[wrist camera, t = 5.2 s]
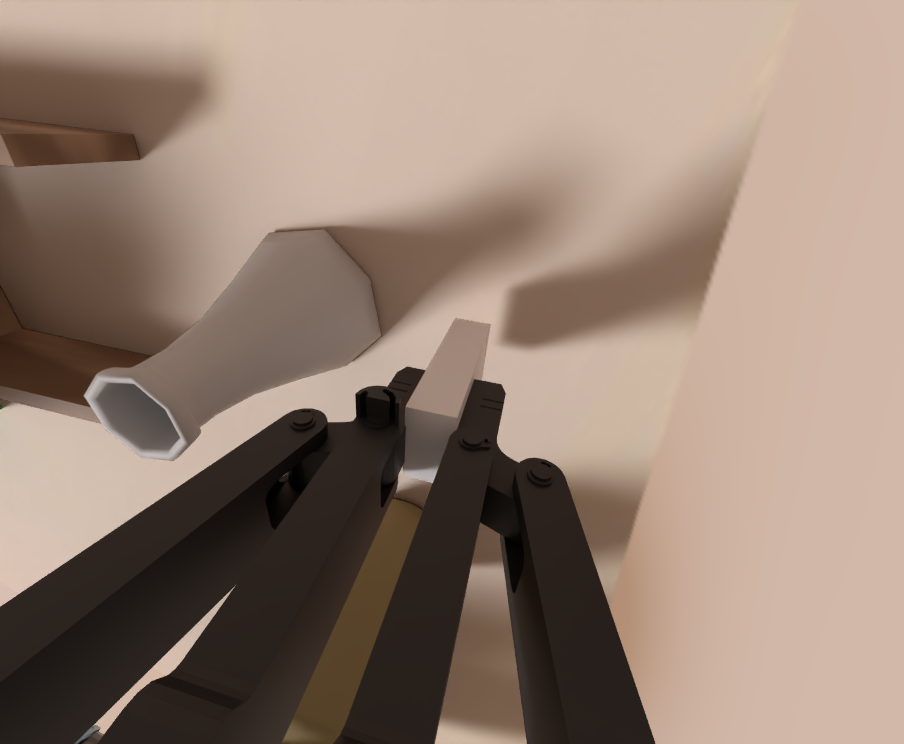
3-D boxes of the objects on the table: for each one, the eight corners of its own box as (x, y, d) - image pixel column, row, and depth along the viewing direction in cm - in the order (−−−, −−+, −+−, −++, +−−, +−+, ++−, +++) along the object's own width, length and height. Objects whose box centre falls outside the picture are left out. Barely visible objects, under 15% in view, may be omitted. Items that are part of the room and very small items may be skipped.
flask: (332, 199, 17) (117, 258, 9) (406, 344, 20) (296, 494, 12) (220, 259, 20) (-26, 347, 12) (298, 379, 23) (146, 520, 14)
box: (202, 380, 24) (129, 430, 20) (16, 339, 26) (-86, 377, 22) (132, 134, 18) (0, 133, 13) (-110, 105, 20) (-291, 96, 16)
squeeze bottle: (456, 492, 24) (291, 1070, 9) (461, 573, 28) (352, 1070, 13) (335, 476, 26) (33, 939, 11) (357, 555, 30) (156, 974, 15)
